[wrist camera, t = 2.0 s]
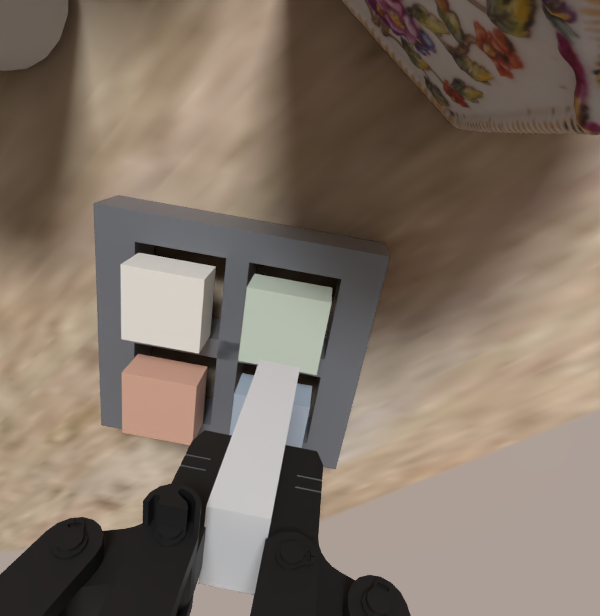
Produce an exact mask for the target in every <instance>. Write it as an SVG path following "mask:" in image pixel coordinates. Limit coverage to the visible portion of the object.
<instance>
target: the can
mask: <svg viewBox="0 0 600 616" xmlns="http://www.w3.org/2000/svg"><path fill="white" fill-rule="evenodd" d="M67 15H68V0H0V70H1V71H10V70H19V69H27V68H29V67H31V66H33V65H34V64H36V63H38V62H40V61H41V60H43V59H45V58H46V57H47V56H48V55H49V53H50V52H51V51H52V49H53V48H54V47H55V45H56V44H57V43H58V41H59V40H60V38H61V35H62V32H63V28H64V25H65V22H66V19H67Z"/></svg>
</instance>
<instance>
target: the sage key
mask: <svg viewBox="0 0 600 616" xmlns="http://www.w3.org/2000/svg"><path fill="white" fill-rule="evenodd" d="M331 303H332V288H331V287H326V286H320V285H315V284H309V283H304V282H298V281H293V280H287V279H282V278H276V277H271V276H265V275H260V274H254V276H253V277H252V279H251V281H250V283H249V284H248V286H247V290H246V298H245V307H244V315H243V324H242V332H241V341H240V349H239V358H238V361H242V362H247V363H253V364H259V361H260V360H263V361H269V362H274V363H279V364H284V365H289V366H295V367H300V371H299V372H301V373H307V374H312V375H317V371H318V366H319V361H320V356H321V352H322V347H323V342H324V337H325V332H326V328H327V323H328V318H329V313H330V308H331Z"/></svg>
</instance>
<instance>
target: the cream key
mask: <svg viewBox="0 0 600 616" xmlns="http://www.w3.org/2000/svg"><path fill="white" fill-rule="evenodd" d="M120 267H121V339H123V340H128V341H134V342H139V343H144V344H150V345H155V346H161V347H166V348H172V349H177V350H182V351H188V352H193V353H200V351H201V350H202V348H203V346H204V345H205V343H206V341H207V340H208V338H209V337H210V331H211V319H212V307H213V295H214V284H215V272H216V266H210V265H205V264H199V263H193V262H188V261H182V260H177V259H171V258H166V257H160V256H155V255H149V254H144V253H137V254H136V255H134V256H133V257H131V258H130V259H128V260H127V261H125V262H123V263H122V264H120Z"/></svg>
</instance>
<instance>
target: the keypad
mask: <svg viewBox="0 0 600 616" xmlns="http://www.w3.org/2000/svg"><path fill="white" fill-rule="evenodd" d="M94 227H95V255H96V284H97V312H98V341H99V369H100V397H101V425H103V426H108V427H114V428H119V429H122V372H123V370H124V369H125V368H126V367H127V366H128V365H129V364H130V362H131V361H132V360H133V359H134V358H135V357H136V356H137V355H138V354H142V355H147V356H152V346H153V347H158V348H164V349H169V350H175V351H180V352H185V353H191V354H196V355H202V356H207V357H212V358H217V362H216V373H215V384H214V394H213V399H212V398H207V397H205V402H204V414H203V423H202V426H201V428H200V430H199V432H198V434H197V436H198V435H199V434H201V433H202V432H203V431H204V430H207V431H212V432H217V433H222V434H227V435H229V434H230V426H231V417H232V409H233V400H234V393H235V390H236V388H237V385H238V383H239V380H240V378H241V375H242V373H243V367H244V363H245V364H250V365H256V366H258V364H253V363H247V362H242V361H238V358H239V349H240V341H241V332H242V324H243V315H244V307H245V298H246V290H247V286H248V284H249V283H250V281H251V279H252V277H253V276H254V274H255V270H256V264H261V265H266V266H272V267H277V268H283V269H289V270H294V271H300V272H305V273H311V274H316V275H322V276H327V277H333V278H338V283H337V288H336V293H335V298H334V302H333V307H332V312H331V317H330V321H329V326H328V331H327V336H326V338H324V342H323V347H322V352H321V356H320V361H319V366H318V371H317V375H312V374H307V373H301V372H299V374H305V375H310V376H315V377H318V379H317V384H316V388H315V393H314V398H313V403H312V408H311V412H310V417H309V416H308V419H307V424H306V429H305V434H304V438H303V443H302V448H303V449H308V450H314V451H317V452H318V454H319V456H320V459H321V461H322V463H323V467H327V468H332V469H336V466H337V462H338V458H339V454H340V450H341V446H342V442H343V438H344V434H345V431H346V427H347V423H348V419H349V415H350V411H351V407H352V403H353V399H354V395H355V391H356V387H357V384H358V380H359V376H360V372H361V368H362V364H363V360H364V356H365V352H366V348H367V344H368V340H369V337H370V333H371V329H372V325H373V321H374V317H375V313H376V309H377V305H378V301H379V297H380V293H381V290H382V286H383V282H384V278H385V274H386V270H387V266H388V262H389V258H390V256H389V253H388V250H387V247H386V245H385V243H381V242H375V241H370V240H364V239H359V238H353V237H348V236H342V235H336V234H331V233H325V232H320V231H314V230H309V229H303V228H297V227H292V226H286V225H281V224H275V223H270V222H264V221H258V220H253V219H247V218H242V217H236V216H231V215H225V214H219V213H214V212H208V211H203V210H197V209H192V208H186V207H180V206H175V205H169V204H164V203H158V202H153V201H147V200H141V199H136V198H130V197H125V196H119V195H118V196H115V197H112V198H109V199H106V200H102V201H99V202H96V203H94ZM154 245H156V246H161V247H167V248H173V249H178V250H184V251H189V252H195V253H200V254H206V255H211V256H217V257H222V258H226V267H225V277H224V288H223V299H222V309H221V319H220V318H214V317H212V319H211V331H210V337H209V338H208V340H207V341H206V343H205V345H204V346H203V348H202V350H201V351H200V353H193V352H188V351H182V350H177V349H172V348H166V347H161V346H155V345H150V344H144V343H139V342H134V341H128V340H123V339H121V267H120V264H122V263H123V262H125V261H127V260H128V259H130V258H131V257H133V256H134V255H136V254H137V253H144V254H149V255H154Z"/></svg>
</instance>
